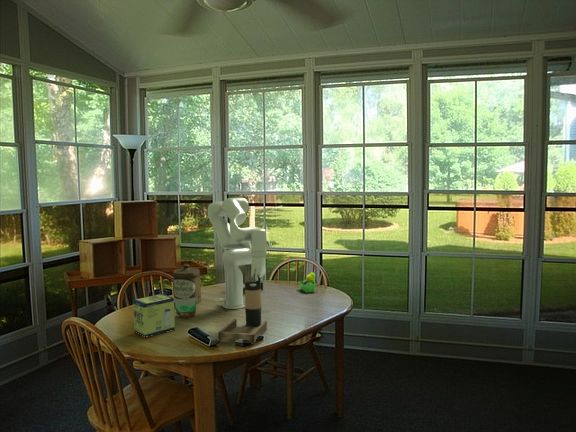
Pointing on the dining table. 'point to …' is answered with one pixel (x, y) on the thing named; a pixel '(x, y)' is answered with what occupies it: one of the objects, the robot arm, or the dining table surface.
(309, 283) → the fruit basket
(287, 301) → the dining table surface
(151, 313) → the protein box
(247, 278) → the tabletop clock
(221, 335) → the tray
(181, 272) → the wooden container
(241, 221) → the robot arm
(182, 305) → the food container
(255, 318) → the travel mug
